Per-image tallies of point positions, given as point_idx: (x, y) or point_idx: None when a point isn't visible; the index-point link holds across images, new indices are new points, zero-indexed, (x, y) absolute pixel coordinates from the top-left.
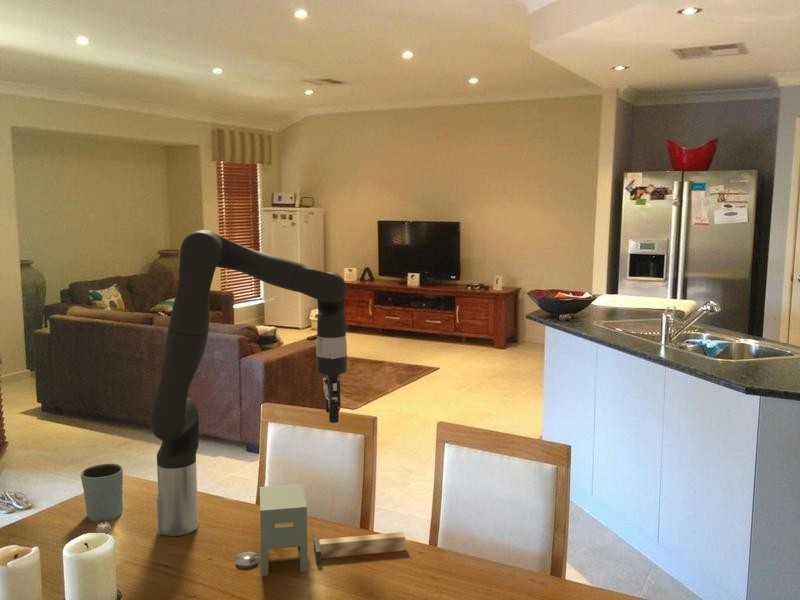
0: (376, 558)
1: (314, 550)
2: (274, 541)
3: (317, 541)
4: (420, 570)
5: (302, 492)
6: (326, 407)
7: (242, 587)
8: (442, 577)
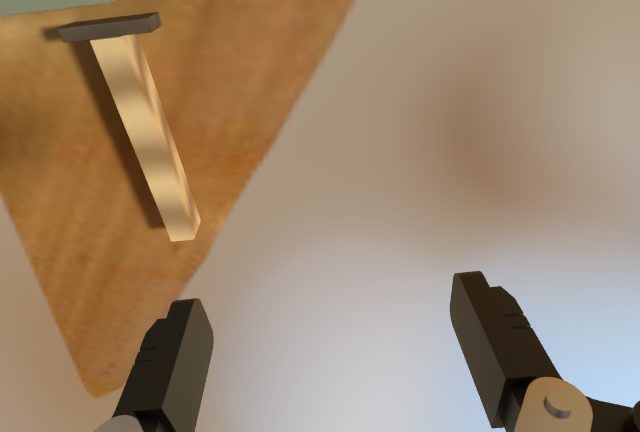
0: (134, 168)
1: (136, 15)
2: None
3: (121, 31)
4: (102, 241)
5: (3, 5)
6: (470, 303)
7: None
8: (86, 270)
